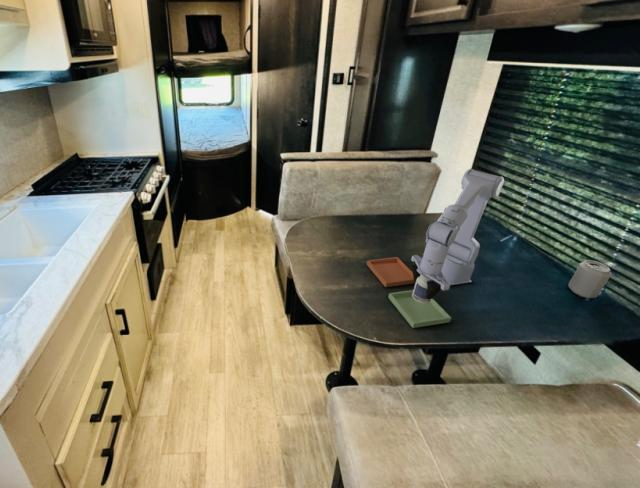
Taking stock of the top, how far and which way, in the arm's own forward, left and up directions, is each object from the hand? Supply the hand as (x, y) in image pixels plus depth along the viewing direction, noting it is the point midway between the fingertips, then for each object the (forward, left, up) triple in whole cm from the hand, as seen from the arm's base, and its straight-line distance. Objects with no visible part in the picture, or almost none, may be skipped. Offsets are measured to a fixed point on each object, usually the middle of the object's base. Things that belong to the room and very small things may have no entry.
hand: (423, 291), depth 102 cm
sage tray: (0, 0, -8) cm, 8 cm away
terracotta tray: (-2, -18, -8) cm, 20 cm away
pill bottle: (0, 0, -3) cm, 3 cm away
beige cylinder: (-63, +3, -8) cm, 64 cm away
